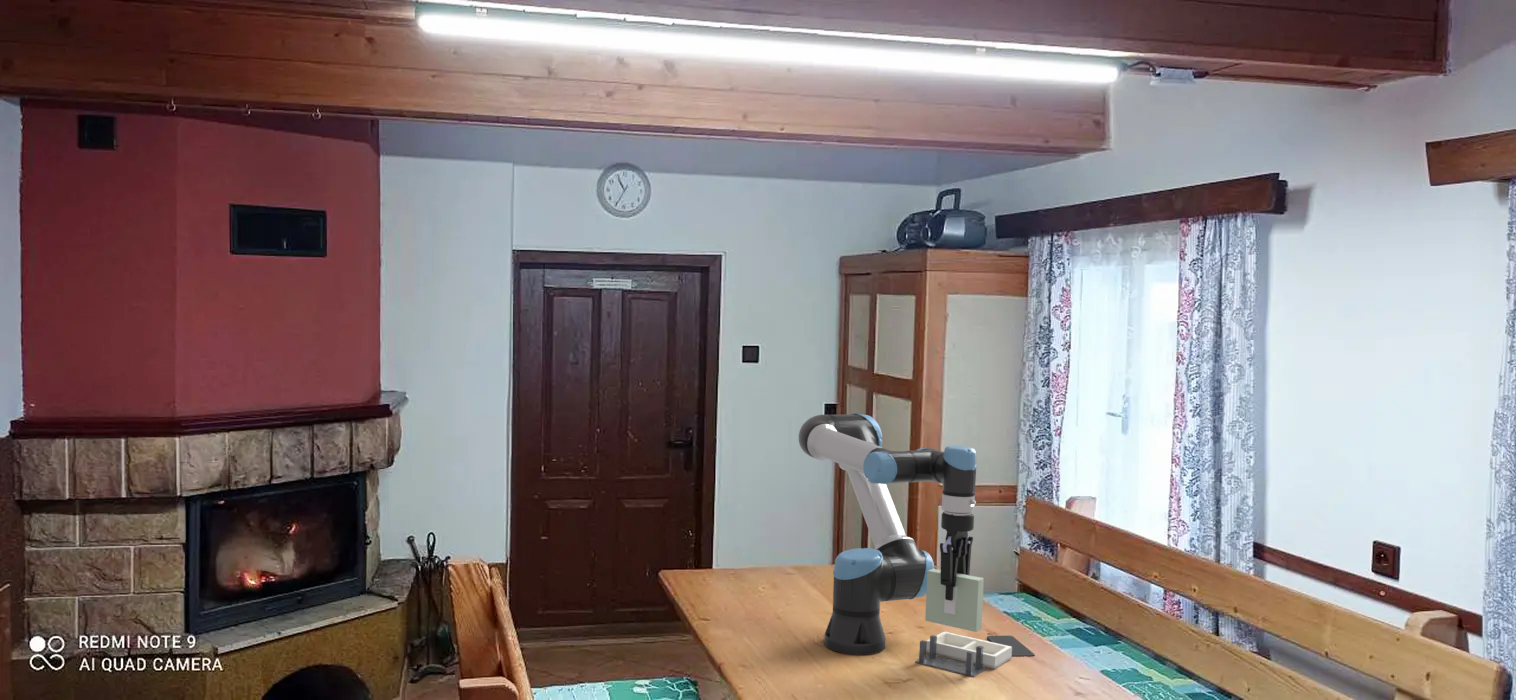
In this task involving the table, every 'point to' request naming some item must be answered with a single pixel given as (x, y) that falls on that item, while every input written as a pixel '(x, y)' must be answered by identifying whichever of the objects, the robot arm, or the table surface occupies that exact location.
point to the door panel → (966, 603)
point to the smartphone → (1012, 645)
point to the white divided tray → (971, 649)
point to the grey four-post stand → (951, 664)
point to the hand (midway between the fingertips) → (953, 611)
